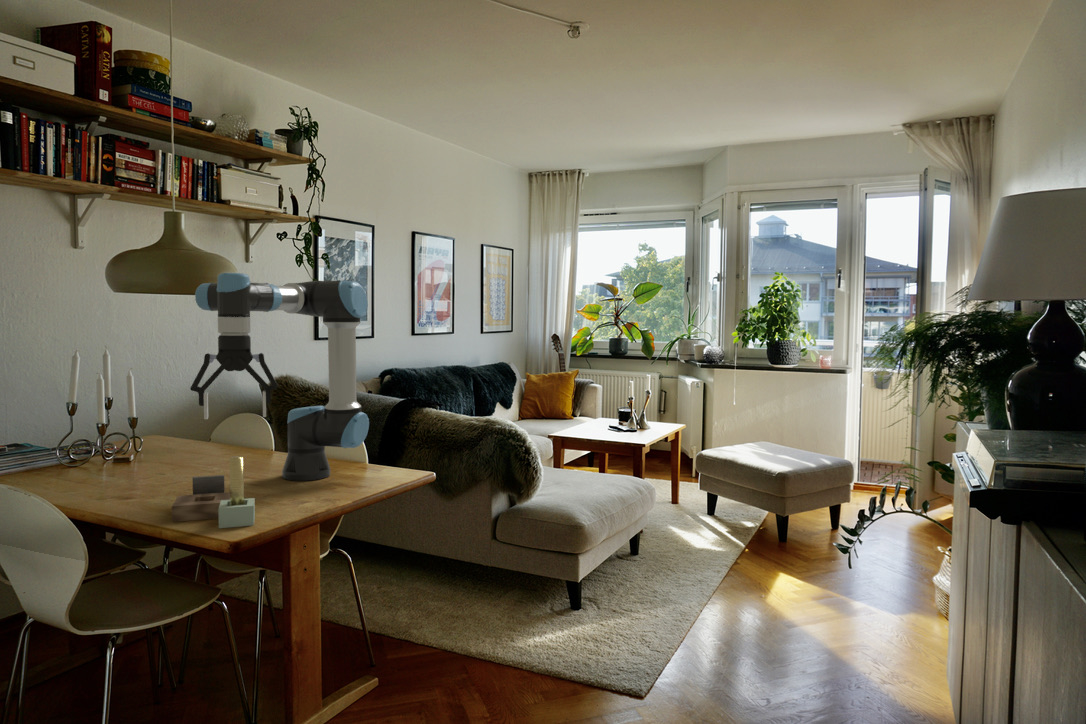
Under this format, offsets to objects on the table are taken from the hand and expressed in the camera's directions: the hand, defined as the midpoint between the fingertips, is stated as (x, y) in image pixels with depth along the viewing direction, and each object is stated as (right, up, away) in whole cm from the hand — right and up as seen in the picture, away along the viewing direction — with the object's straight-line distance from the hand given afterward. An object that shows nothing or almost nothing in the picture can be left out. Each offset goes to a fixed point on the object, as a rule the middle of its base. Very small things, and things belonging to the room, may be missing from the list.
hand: (235, 417), depth 175 cm
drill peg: (0, -26, 0) cm, 26 cm away
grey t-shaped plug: (-14, -25, +14) cm, 32 cm away
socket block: (-11, -26, +7) cm, 29 cm away
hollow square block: (0, -27, 0) cm, 27 cm away
